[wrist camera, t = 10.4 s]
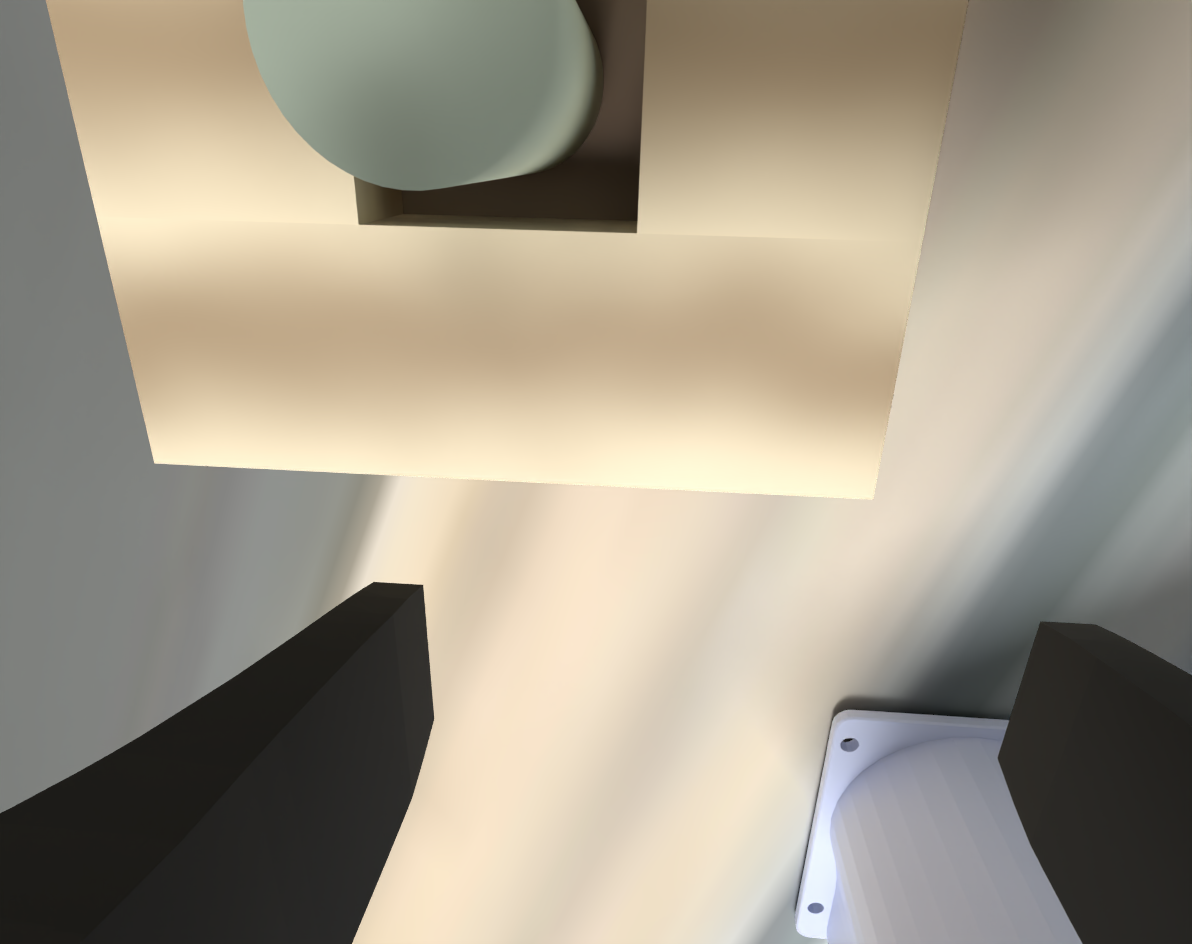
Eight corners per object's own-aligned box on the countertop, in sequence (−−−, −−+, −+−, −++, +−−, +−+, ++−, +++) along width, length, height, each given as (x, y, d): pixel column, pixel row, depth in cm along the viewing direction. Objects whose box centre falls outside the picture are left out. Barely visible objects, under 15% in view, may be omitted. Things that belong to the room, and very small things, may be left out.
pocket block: (840, 448, 19) (873, 499, 16) (224, 419, 19) (154, 463, 17) (990, -453, 12) (1089, -630, 9) (64, -433, 13) (-93, -589, 10)
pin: (606, 170, 16) (567, 184, 9) (445, 177, 16) (279, 196, 9) (599, -23, 15) (548, -198, 7) (424, -12, 15) (207, -171, 8)
